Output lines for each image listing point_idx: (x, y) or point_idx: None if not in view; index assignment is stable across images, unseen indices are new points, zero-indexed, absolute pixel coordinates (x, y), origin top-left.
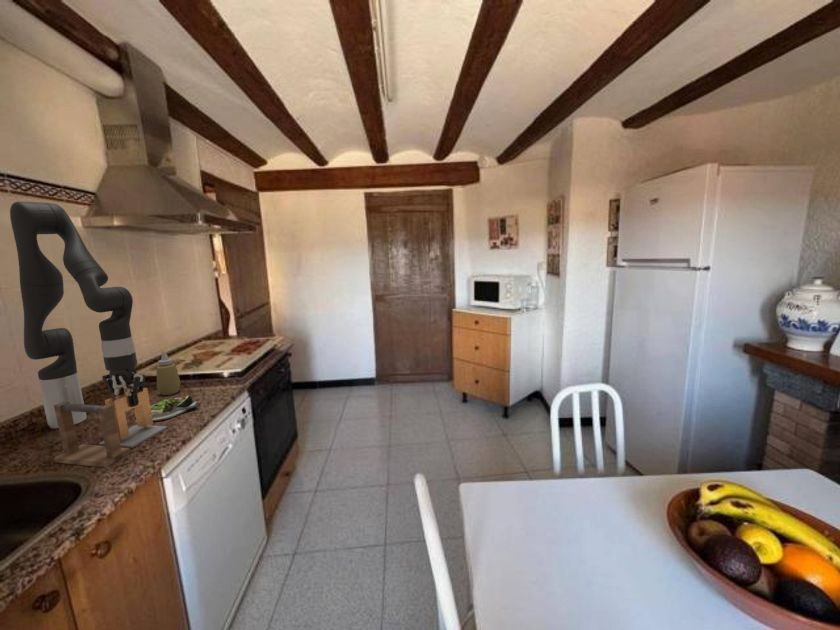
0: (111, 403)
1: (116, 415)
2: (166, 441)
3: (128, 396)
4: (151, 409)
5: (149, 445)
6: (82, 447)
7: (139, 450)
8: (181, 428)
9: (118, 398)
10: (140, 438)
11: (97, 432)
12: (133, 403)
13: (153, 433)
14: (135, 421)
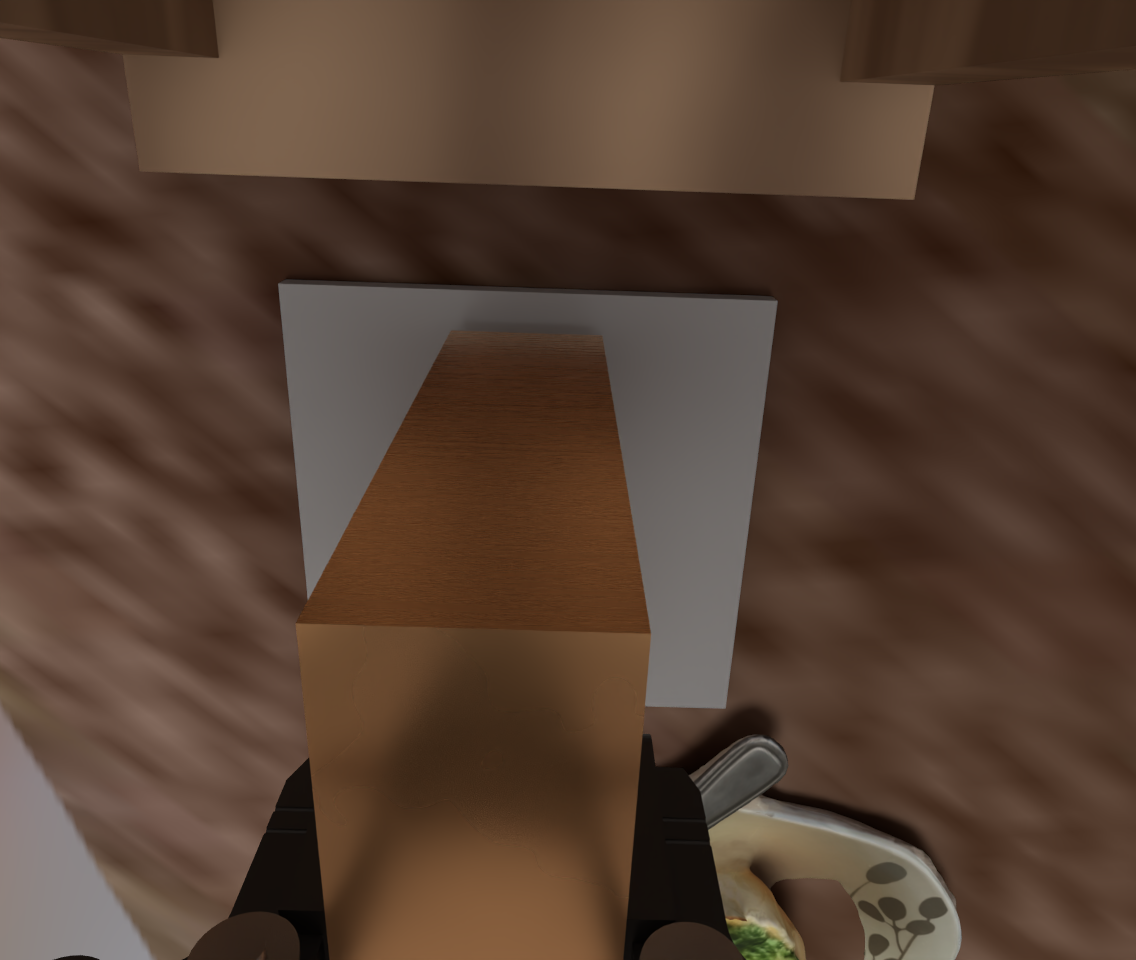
0: (432, 589)
1: (396, 455)
2: (26, 445)
3: (321, 906)
4: (738, 933)
5: (131, 348)
6: (828, 119)
7: (129, 235)
8: (159, 693)
9: (389, 777)
10: (353, 445)
11: (1072, 540)
12: (302, 784)
13: (313, 555)
14: (760, 737)
